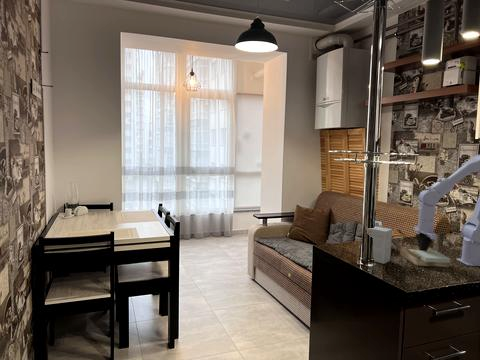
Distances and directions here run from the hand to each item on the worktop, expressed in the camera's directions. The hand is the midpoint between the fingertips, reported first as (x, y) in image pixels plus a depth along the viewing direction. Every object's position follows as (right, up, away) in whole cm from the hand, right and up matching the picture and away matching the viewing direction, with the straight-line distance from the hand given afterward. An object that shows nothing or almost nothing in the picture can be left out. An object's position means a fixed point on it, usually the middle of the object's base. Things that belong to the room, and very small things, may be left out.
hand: (423, 252), depth 148 cm
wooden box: (0, -3, -1) cm, 3 cm away
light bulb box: (-13, -1, +20) cm, 24 cm away
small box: (-20, -3, -3) cm, 21 cm away
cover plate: (0, -1, -6) cm, 6 cm away
